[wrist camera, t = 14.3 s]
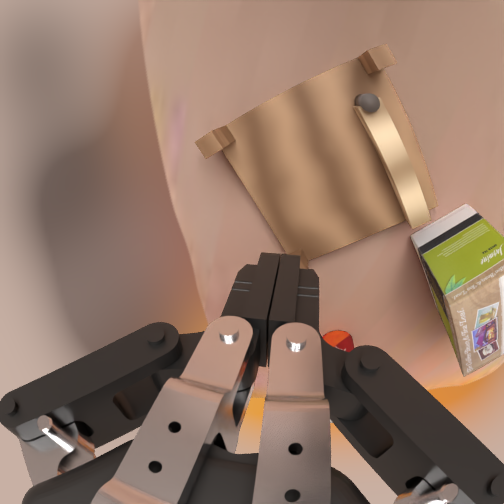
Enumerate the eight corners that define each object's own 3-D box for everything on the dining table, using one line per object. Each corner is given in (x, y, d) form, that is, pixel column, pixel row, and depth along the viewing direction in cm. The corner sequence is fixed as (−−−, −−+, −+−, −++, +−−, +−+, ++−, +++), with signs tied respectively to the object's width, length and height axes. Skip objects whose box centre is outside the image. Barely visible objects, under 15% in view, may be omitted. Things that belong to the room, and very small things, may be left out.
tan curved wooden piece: (348, 99, 24) (354, 99, 21) (368, 89, 23) (377, 89, 20) (404, 217, 29) (414, 232, 26) (422, 209, 28) (433, 223, 25)
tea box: (484, 278, 33) (522, 345, 20) (434, 305, 37) (461, 380, 25) (466, 199, 28) (528, 260, 16) (407, 233, 32) (446, 310, 20)
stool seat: (369, 54, 22) (386, 43, 16) (432, 199, 29) (455, 224, 23) (217, 132, 31) (194, 142, 25) (295, 258, 37) (291, 291, 32)
